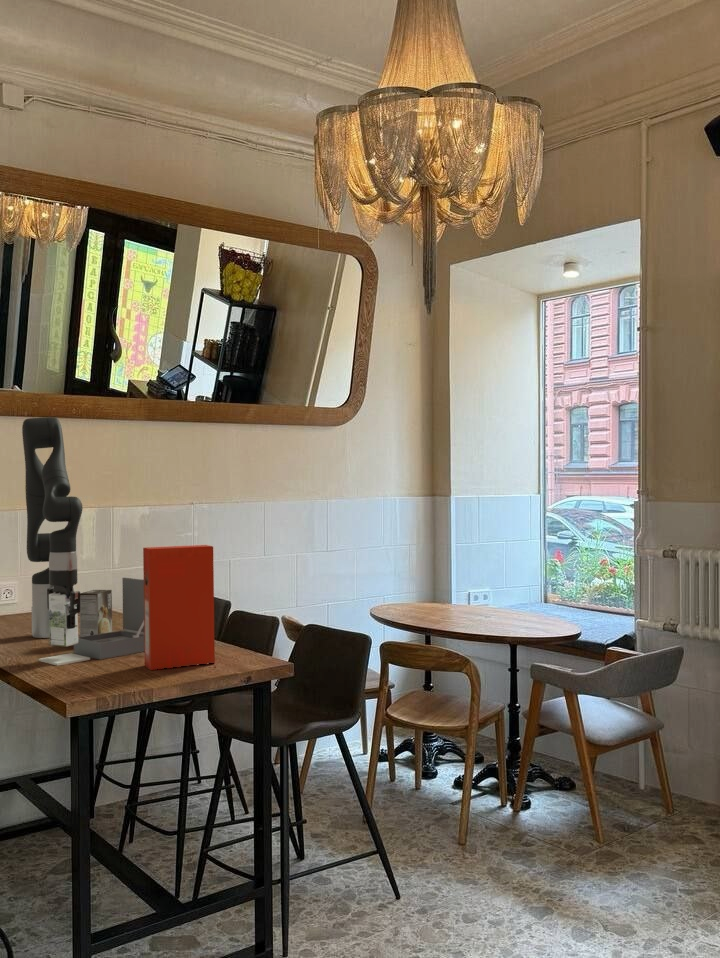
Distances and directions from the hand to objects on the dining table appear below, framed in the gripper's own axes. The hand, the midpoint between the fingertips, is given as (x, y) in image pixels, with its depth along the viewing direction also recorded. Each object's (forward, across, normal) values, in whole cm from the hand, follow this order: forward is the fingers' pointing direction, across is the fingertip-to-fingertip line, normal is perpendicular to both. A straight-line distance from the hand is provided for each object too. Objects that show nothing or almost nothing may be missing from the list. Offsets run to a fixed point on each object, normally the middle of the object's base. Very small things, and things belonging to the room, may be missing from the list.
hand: (63, 626), depth 248 cm
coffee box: (+10, -16, +20) cm, 27 cm away
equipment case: (+9, 0, +15) cm, 18 cm away
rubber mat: (+9, 0, 0) cm, 9 cm away
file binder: (+10, +30, +17) cm, 36 cm away
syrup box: (+5, 0, 0) cm, 5 cm away
